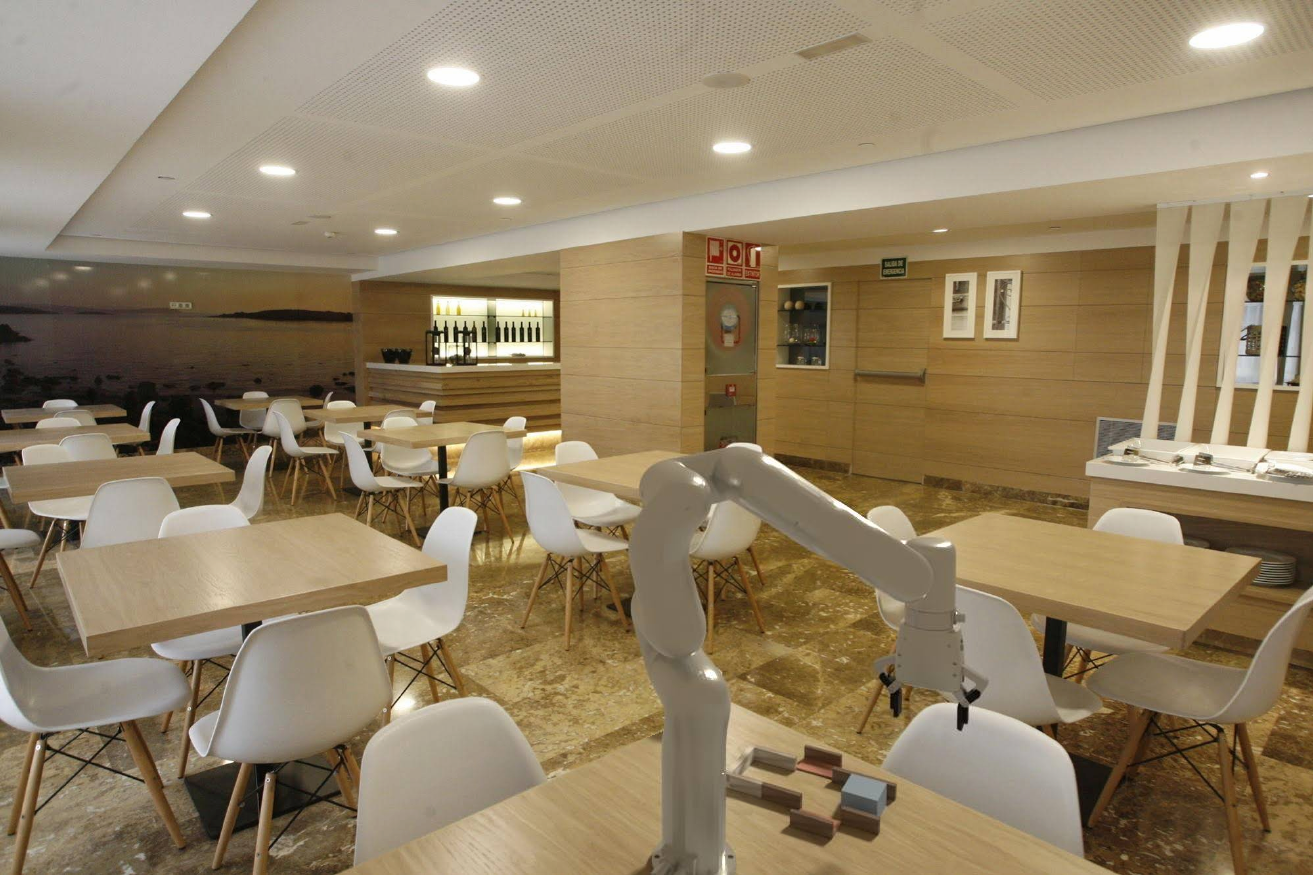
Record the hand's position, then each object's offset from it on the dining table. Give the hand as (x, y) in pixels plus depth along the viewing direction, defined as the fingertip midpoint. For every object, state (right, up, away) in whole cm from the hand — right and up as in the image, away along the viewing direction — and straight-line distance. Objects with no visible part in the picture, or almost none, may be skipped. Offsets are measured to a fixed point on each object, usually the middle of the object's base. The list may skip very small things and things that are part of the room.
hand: (928, 720), depth 121 cm
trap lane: (-17, -17, +11) cm, 26 cm away
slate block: (-9, -17, +7) cm, 21 cm away
